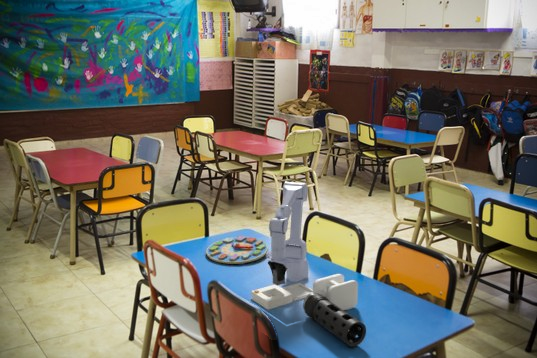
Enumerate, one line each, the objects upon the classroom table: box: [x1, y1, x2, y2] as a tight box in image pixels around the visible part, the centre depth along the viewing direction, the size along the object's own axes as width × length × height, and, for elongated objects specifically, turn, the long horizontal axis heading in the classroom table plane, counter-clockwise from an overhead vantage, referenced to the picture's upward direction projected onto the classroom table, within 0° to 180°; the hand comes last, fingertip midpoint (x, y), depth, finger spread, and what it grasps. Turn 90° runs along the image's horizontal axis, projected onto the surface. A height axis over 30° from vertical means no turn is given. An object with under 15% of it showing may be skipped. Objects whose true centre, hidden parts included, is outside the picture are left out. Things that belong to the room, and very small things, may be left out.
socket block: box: [250, 284, 293, 310], centre depth 235 cm, size 12×12×5 cm
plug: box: [272, 269, 286, 286], centre depth 235 cm, size 4×3×6 cm
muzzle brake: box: [302, 293, 367, 349], centre depth 210 cm, size 10×28×10 cm, turn 29°
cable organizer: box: [312, 273, 359, 311], centre depth 229 cm, size 15×11×12 cm
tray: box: [282, 282, 313, 302], centre depth 242 cm, size 11×11×2 cm
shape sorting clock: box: [205, 235, 269, 265], centre depth 288 cm, size 31×30×6 cm
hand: (278, 279), depth 235 cm, fingers closed on plug, 3 cm apart
